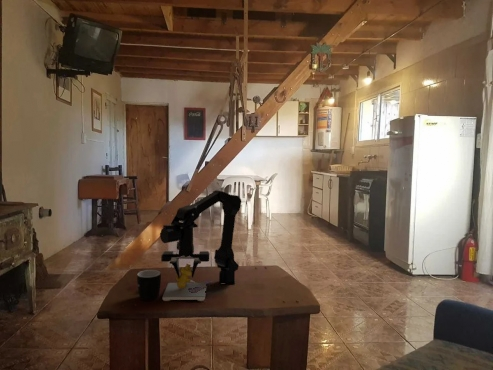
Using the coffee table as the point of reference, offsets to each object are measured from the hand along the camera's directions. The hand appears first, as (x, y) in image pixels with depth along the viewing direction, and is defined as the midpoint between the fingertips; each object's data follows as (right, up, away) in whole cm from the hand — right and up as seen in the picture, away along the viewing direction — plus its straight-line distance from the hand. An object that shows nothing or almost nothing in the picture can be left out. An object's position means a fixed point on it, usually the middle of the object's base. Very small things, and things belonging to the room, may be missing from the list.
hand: (185, 277), depth 146 cm
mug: (-14, -8, -5) cm, 17 cm away
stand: (0, -7, +1) cm, 7 cm away
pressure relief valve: (-1, -5, +2) cm, 6 cm away
